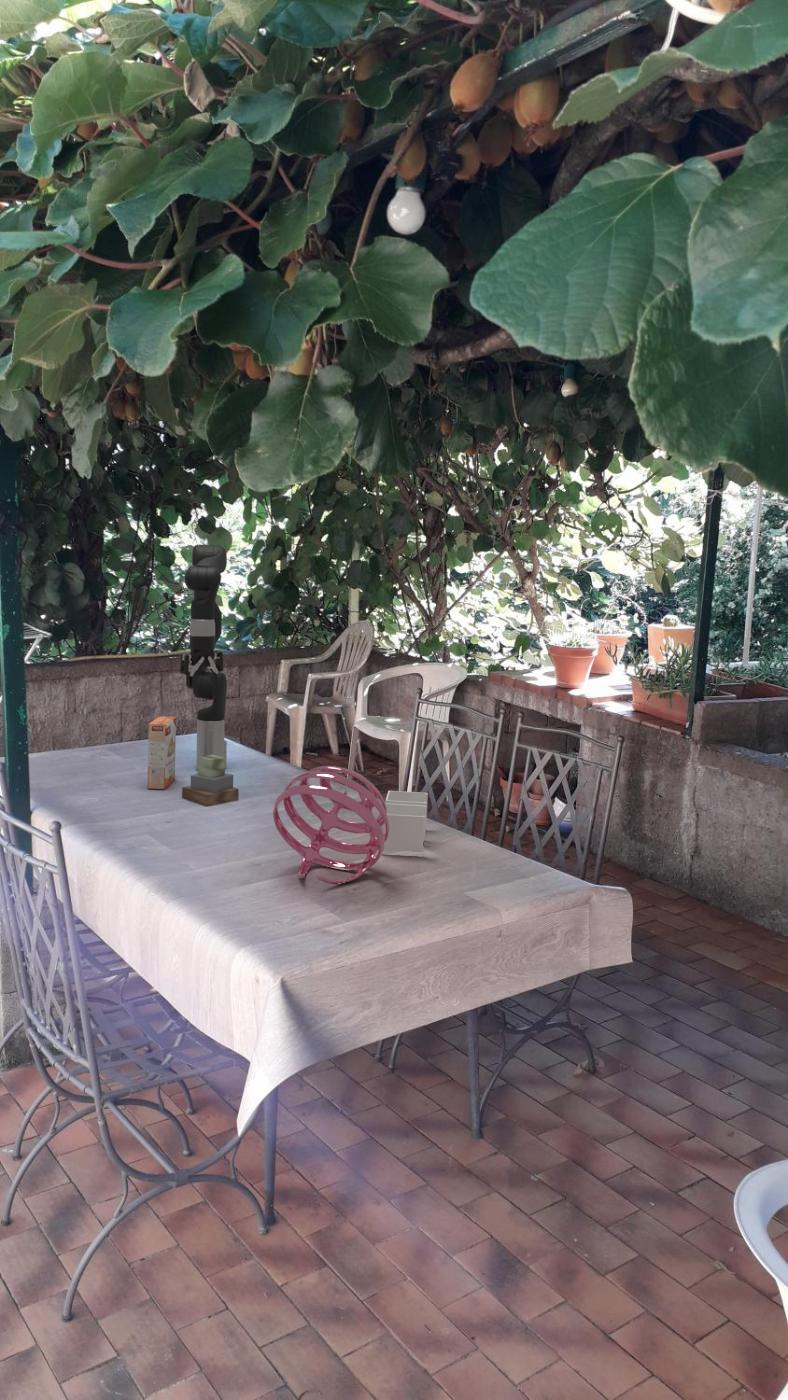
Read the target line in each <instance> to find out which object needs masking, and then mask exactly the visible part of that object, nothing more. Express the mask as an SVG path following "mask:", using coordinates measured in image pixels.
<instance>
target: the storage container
mask: <svg viewBox="0 0 788 1400" xmlns="http://www.w3.org/2000/svg"><path fill="white" fill-rule="evenodd" d="M428 793H429V792H421V791H419V792H418V791H401V790H400V791H399V790H388V791H387V794H386V797H385V804H386V808H387V816H388V819H389V835H388V838H387V840H386V842H385V847H384V851H412V852H423V853H424V846H423V841H424V837H425V838H426V831H425V825H426V826H427V820H428V819H427V817H428V797H429V794H428ZM381 829H382V831H383V834H384V833H385V830H386V827H385V823H384V824H383V825H382V826H381Z"/></svg>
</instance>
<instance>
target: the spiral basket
mask: <svg viewBox="0 0 788 1400" xmlns="http://www.w3.org/2000/svg"><path fill="white" fill-rule="evenodd" d="M342 773H343V774H346V775H349V776H351V777H354V778H355V779H357V780H358V781H360V782H361V783H364V784H365V786H366V787H367V788H366V787H364V786H363V785H362V784H360V783H358V782H356V781H355V780H353V779H351V778H349V777H346V776H344V775H342ZM340 774H341V775H340ZM312 778H313V779H319V785H315V784H309V783H310V779H312ZM331 781H333V782H337V783H339V784H342V785H344V786H347V787H349V788H351V789H352V790H354V791H356V792H357V793H358V796H359V798H360V800H361V801H357V800H355V799H353V798H352V797H350V796H349V795H347V794H348V790H345V791H344V792H341V791H338V790H335V789H334V788H333V787H332V784H331ZM296 782H299V785H295V786H293V785H294V784H295V783H296ZM295 795H300V797H301V801H302V802H303V803H304V804H305V806H306V807H307V809H308V810H309V811H310V812H311V813H312V814H313V815H314V816H316V818H318V819H319V820H320V822H321V825H320V827H319V828H317V829H316V828H314V827H312V826H311V825H310V824H309V823H308V822H306V821H305V820H304V819H303V817H301V815H300V814H299V812H298V810H296V808H295V806H294V803H293V801H292V796H295ZM313 795H314V796H319V797H323V798H325V799H326V798H327V799H328V800H329V801H330V802H331V803H333V807H332V808H331V810H325V808H323V807H322V806H321V805H320V804H319V803H318V802H317V800H315V798H314V796H313ZM281 802H282V804H283V807H284V810H285V812H286V814H287V816H288V818H289V820H290V821H291V822H292V823H293V825H294V826H295V827H296V828H297V829H298V830H299V831H300V832H301V833H302V834H304V835H305V836H306V837H308V839H309V840H310V844H309V845H308V846H305V845H303V844H302V843H301V842H299V841H298V840H297V839H296V838H295V837H294V836H293V835H292V834H291V833H290V832H289V830H288V829H287V828H286V827H285V825H284V823H283V822H282V820H281V816H280V813H279V806H280V803H281ZM385 803H386V800H385V799H384V797H383V795H382V794H381V792H380V790H378V788H377V787H376V786H375V784H373V783H372V781H371V782H370V780H368V779H367V778H366V777H365V776H363V775H362V774H360V773H359V772H356V771H355V770H351V769H349V768H344V767H341V766H334V765H323V766H317V767H314V768H311V769H310V770H308V771H307V772H304V773H301V774H299V775H298V776H296V777H294V778H293V779H291V780H290V781H289V783H288V784H286V787H285V789H284V791H283V792H281V794H279V795H278V797H277V799H276V801H275V803H274V806H273V811H272V817H273V822H274V825H275V828H276V830H277V832H278V833H279V834H280V836H281V837H282V839H283V840H284V841H285V843H287V844H288V846H290V847H291V848H292V850H294V851H295V852H297V853H298V855H300V856H301V857H302V858H301V859H302V861H301V863H300V867H299V869H298V877H299V878H300V879H302V880H303V879H305V878H306V876H305V874H306V872H307V871H308V870H309V871H310V868H311V867H312V865H314V864H316V865H319V866H322V867H325V866H326V867H325V868H328V867H340V868H344V869H349V870H354V871H353V872H356V873H355V874H354V875H352V876H350V877H348V878H346V879H329V878H326V877H323V876H321V875H316V879H318V880H319V881H321V882H323V883H326V884H331V885H339V884H338V883H343V882H348V881H351V880H353V881H355V880H357V879H358V878H360V877H362V875H363V874H364V873H365V872H367V871H368V870H369V869H370V868H372V866H374V865H375V864H376V863H377V862H378V861H379V860H380V858H381V857H382V856H383V855H382V853H383V851H384V847H385V842H386V840H387V838H388V835H389V819H388V816H387V808H386V804H385ZM374 807H375V809H376V810H377V811H378V812H379V816H378V817H377V818H375V816H374V814H373V813H374V812H373V809H374ZM342 809H344V810H347V811H350V812H354V813H355V814H356V815H357V816H359V817H360V818H361V820H363V821H364V822H353V821H349V820H344V819H342V818H340V817H339V816H338V814H339V811H340V810H342ZM384 823H385V827H386V830H385V833H384V834H383V831H382V829H381V826H382V825H383V824H384ZM331 829H338V830H339V831H343V832H348V833H351V834H368V835H369V841H368V842H367V843H364V844H363V843H362V844H358V843H357V844H354V843H348V842H343V841H339V840H336V839H334V838H332V837H331V836H329V832H330V830H331ZM322 848H328V849H330V850H333V851H336V852H340V853H344V854H349V855H366V857H365V858H364V860H363V861H361V862H355V863H354V862H351V863H350V862H342V861H337V860H334V859H331V858H329V857H325V856H323V855H321V854H320V850H321V849H322ZM377 851H378V852H377ZM376 853H377V854H376ZM375 855H376V856H375ZM309 871H308V872H309ZM308 872H307V873H308ZM306 875H307V874H306ZM356 878H357V879H356ZM354 879H355V880H354ZM351 882H352V881H351ZM348 883H349V882H348Z"/></svg>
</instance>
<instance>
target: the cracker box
mask: <svg viewBox="0 0 788 1400" xmlns="http://www.w3.org/2000/svg"><path fill="white" fill-rule="evenodd" d="M176 737H177V717H175V716H165V715H164V716H161V715H160V716H158V717H157V718H155V719H153V720H152V721H151V722H149V723H148V737H147V738H148V739H147V740H148V742H147V743H148V744H147V745H148V747H147V748H148V749H147V752H148V753H147V790H148V789H150V790H161V789H164V790H166V789H167V788H168V787H169V786H170V785H171V784H172V783H173V782H174V781H175V780H176V778H175V777H176V745H177V742H176V741H177V738H176Z"/></svg>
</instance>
